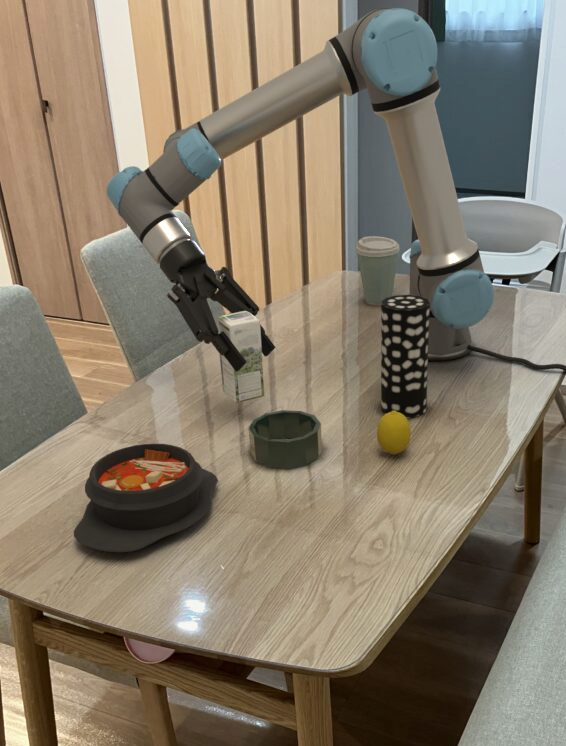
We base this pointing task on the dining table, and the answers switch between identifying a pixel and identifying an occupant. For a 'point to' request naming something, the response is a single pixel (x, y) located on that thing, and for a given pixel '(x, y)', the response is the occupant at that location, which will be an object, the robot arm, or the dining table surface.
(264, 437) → the crock
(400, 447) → the lemon
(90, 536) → the casserole
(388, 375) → the white-spotted black cylinder
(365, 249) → the disposable coffee cup
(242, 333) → the syrup box
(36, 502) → the dining table surface
